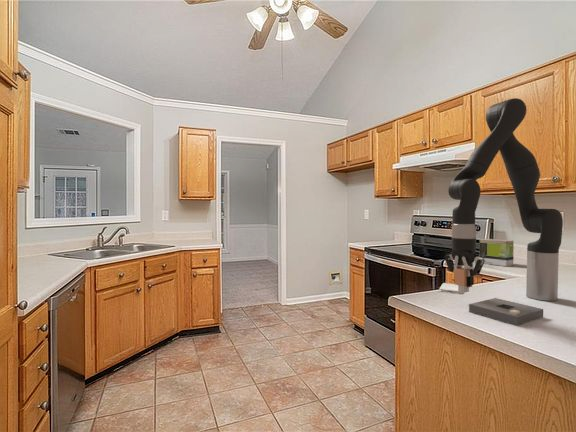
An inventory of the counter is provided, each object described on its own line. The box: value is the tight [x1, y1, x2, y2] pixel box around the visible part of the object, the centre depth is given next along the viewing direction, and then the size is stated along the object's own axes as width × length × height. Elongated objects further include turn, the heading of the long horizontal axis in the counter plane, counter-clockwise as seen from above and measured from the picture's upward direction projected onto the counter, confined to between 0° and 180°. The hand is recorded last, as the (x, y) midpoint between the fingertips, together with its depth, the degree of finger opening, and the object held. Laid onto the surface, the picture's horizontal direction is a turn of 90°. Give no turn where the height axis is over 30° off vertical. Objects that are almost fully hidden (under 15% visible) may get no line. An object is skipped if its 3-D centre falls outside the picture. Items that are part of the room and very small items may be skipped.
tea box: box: [478, 238, 515, 267], centre depth 195 cm, size 15×10×15 cm, turn 34°
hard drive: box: [438, 282, 463, 295], centre depth 133 cm, size 2×8×12 cm
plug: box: [454, 266, 470, 294], centre depth 114 cm, size 5×4×8 cm
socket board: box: [468, 297, 544, 327], centre depth 101 cm, size 15×14×3 cm
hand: (463, 285), depth 114 cm, fingers closed on plug, 3 cm apart
